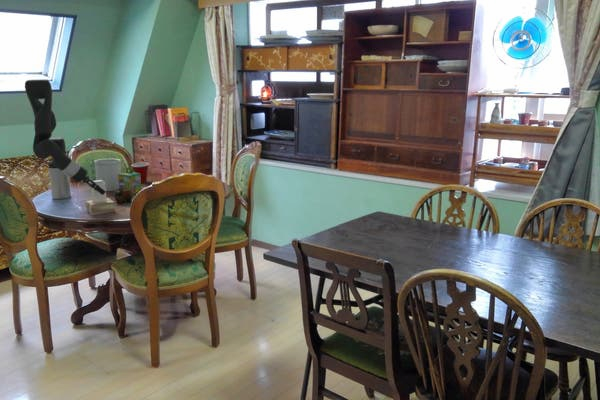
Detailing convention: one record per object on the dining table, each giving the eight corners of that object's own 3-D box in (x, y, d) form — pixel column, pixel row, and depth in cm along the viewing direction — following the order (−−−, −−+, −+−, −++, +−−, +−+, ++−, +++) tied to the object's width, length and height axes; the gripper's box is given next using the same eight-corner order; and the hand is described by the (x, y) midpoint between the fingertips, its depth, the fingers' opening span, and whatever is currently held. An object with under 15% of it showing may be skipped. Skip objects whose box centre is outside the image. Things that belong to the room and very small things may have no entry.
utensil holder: (128, 188, 303) (125, 159, 299) (107, 192, 291) (104, 162, 287) (112, 185, 311) (110, 157, 307) (91, 189, 299) (88, 160, 295)
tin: (92, 200, 250) (90, 180, 247) (103, 199, 253) (101, 179, 250) (94, 202, 245) (92, 182, 243) (106, 201, 248) (104, 181, 246)
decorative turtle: (122, 205, 261) (120, 190, 259) (109, 203, 271) (106, 188, 269) (139, 201, 268) (137, 186, 266) (125, 199, 278) (123, 184, 276)
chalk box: (118, 194, 288) (116, 168, 284) (129, 190, 296) (127, 166, 292) (131, 195, 284) (129, 169, 281) (142, 192, 293) (140, 167, 289)
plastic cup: (129, 183, 317) (127, 164, 314) (139, 180, 327) (137, 162, 324) (143, 184, 314) (142, 165, 311) (153, 181, 324) (152, 162, 321)
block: (86, 210, 252) (85, 200, 250) (109, 207, 258) (108, 197, 256) (91, 215, 243) (90, 205, 242) (115, 211, 249) (114, 201, 248)
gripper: (83, 167, 235) (111, 188, 244) (76, 163, 246) (103, 184, 256) (72, 179, 233) (101, 200, 242) (66, 174, 244) (93, 195, 254)
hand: (102, 192), depth 249 cm, fingers closed on tin, 5 cm apart
